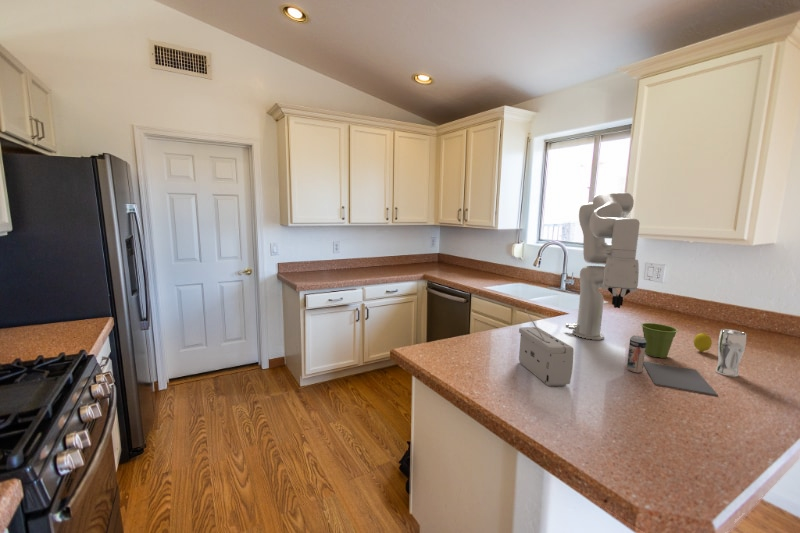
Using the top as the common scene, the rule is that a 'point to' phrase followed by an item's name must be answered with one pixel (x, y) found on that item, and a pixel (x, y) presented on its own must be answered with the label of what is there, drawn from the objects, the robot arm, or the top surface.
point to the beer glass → (730, 351)
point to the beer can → (636, 354)
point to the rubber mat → (678, 378)
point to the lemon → (702, 342)
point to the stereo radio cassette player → (545, 356)
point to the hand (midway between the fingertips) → (616, 307)
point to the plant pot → (658, 339)
